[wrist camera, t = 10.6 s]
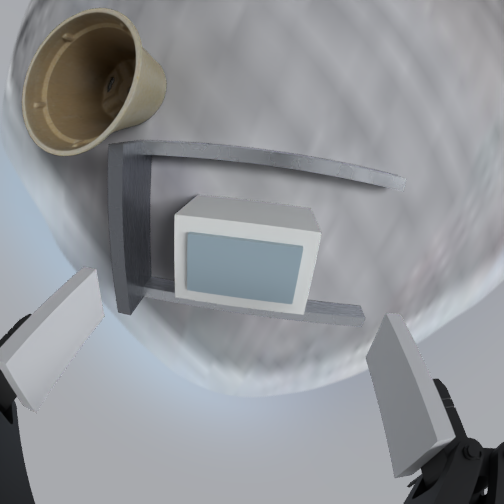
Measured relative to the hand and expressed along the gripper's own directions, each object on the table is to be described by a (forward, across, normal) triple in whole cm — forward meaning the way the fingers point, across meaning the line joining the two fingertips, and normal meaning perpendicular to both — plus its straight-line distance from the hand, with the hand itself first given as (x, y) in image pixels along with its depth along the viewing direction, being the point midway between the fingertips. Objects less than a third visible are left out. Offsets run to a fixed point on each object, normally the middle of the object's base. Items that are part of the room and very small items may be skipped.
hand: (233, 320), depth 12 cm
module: (+12, 0, -1) cm, 13 cm away
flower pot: (+13, -11, +10) cm, 20 cm away
